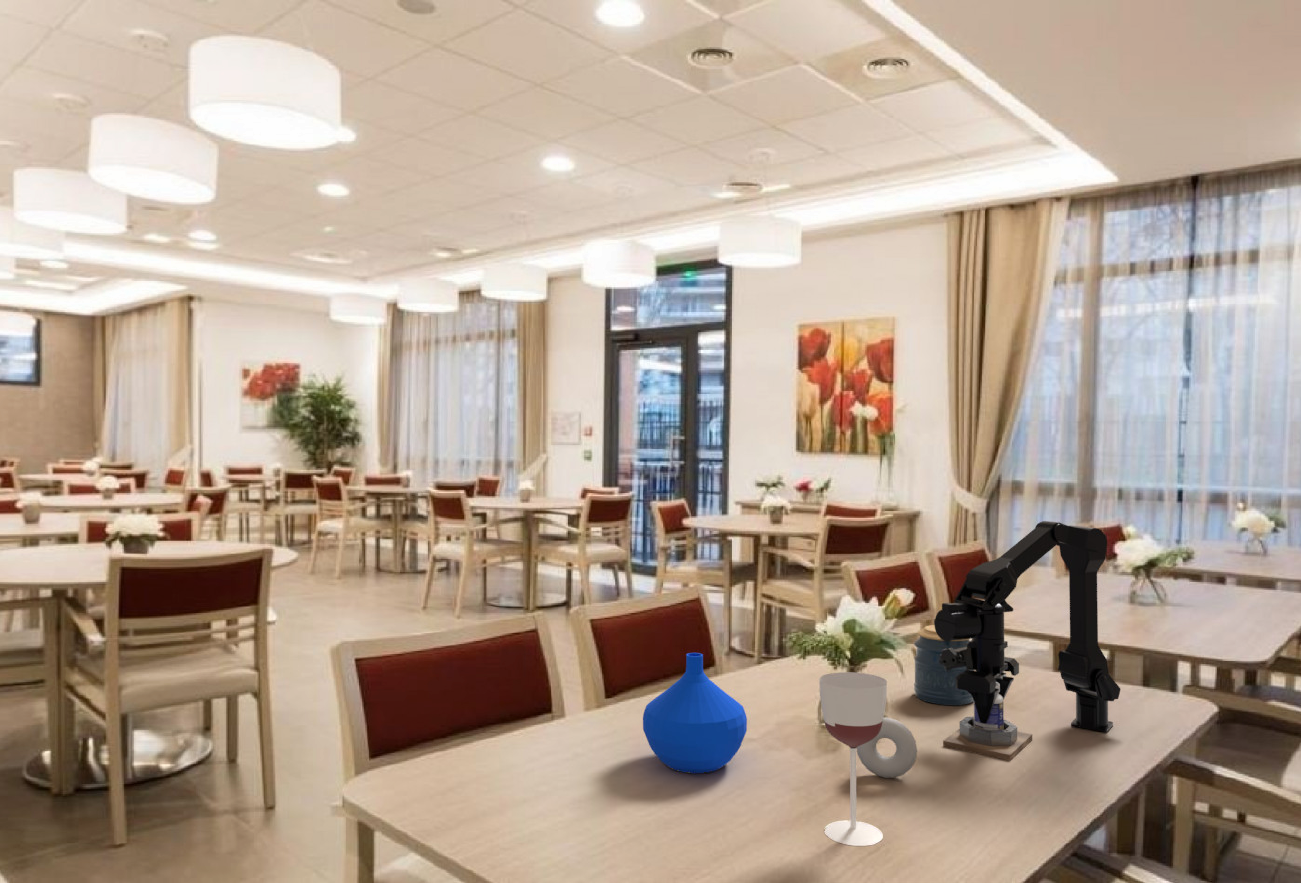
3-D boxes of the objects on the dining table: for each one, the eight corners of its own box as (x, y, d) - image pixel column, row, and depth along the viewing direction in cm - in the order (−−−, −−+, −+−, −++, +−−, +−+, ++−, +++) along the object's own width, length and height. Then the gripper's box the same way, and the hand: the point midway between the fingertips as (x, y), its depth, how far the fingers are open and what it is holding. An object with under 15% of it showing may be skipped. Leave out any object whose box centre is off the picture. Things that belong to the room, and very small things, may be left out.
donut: (917, 777, 146) (917, 717, 146) (916, 784, 143) (916, 724, 143) (857, 770, 149) (856, 712, 149) (854, 777, 146) (854, 717, 146)
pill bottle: (1006, 735, 160) (1005, 687, 160) (976, 734, 161) (975, 686, 161) (1000, 726, 165) (1000, 679, 165) (971, 724, 166) (971, 678, 166)
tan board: (968, 727, 172) (968, 721, 172) (1032, 739, 165) (1032, 734, 165) (943, 745, 161) (943, 740, 161) (1010, 760, 154) (1010, 754, 154)
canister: (984, 706, 186) (984, 624, 186) (924, 706, 186) (923, 624, 186) (963, 689, 199) (963, 612, 199) (907, 689, 199) (906, 612, 199)
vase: (760, 754, 157) (760, 648, 157) (726, 790, 140) (725, 672, 140) (668, 740, 165) (667, 639, 165) (624, 773, 148) (624, 661, 148)
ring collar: (971, 726, 169) (971, 713, 169) (1021, 736, 164) (1021, 722, 164) (954, 738, 162) (954, 725, 162) (1006, 749, 156) (1006, 735, 156)
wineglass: (812, 821, 129) (812, 673, 129) (875, 818, 130) (874, 671, 130) (829, 848, 120) (829, 689, 120) (896, 845, 121) (896, 687, 121)
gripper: (962, 622, 175) (962, 700, 175) (927, 639, 161) (927, 723, 161) (1019, 630, 168) (1020, 710, 168) (988, 647, 154) (989, 735, 154)
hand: (988, 719), depth 163 cm, fingers closed on pill bottle, 5 cm apart
